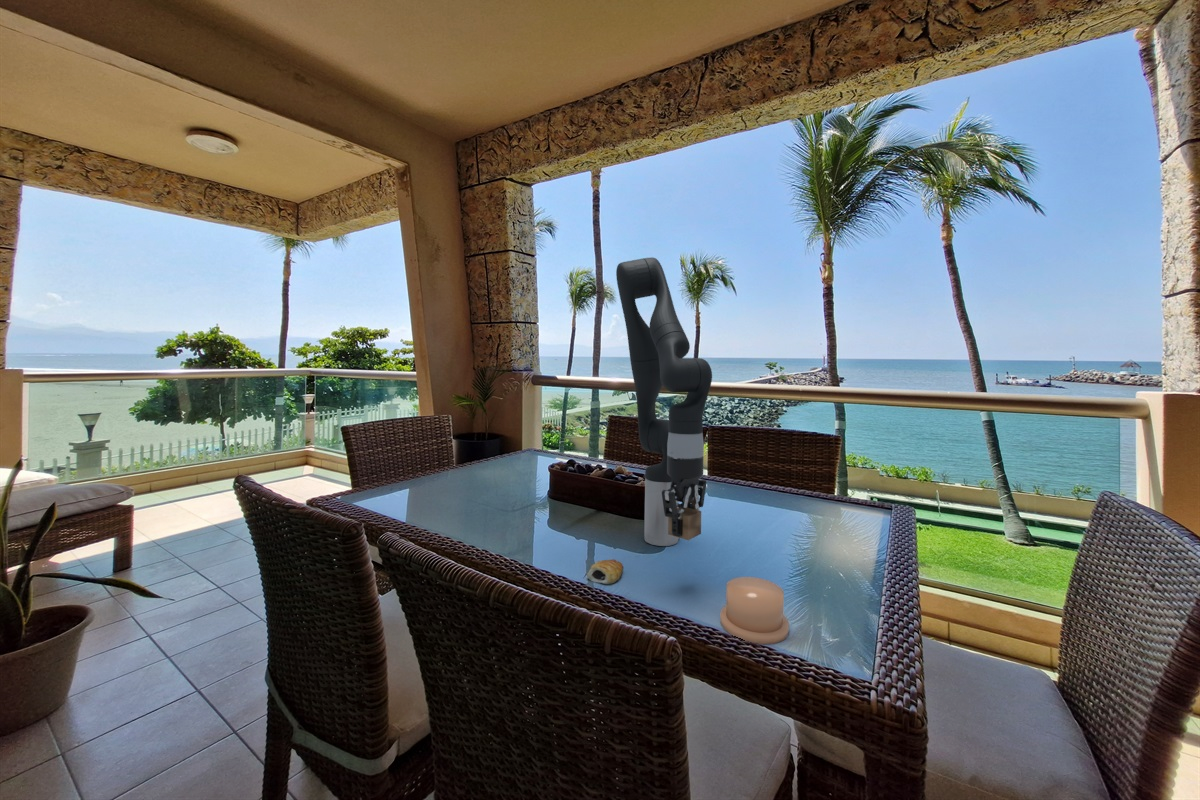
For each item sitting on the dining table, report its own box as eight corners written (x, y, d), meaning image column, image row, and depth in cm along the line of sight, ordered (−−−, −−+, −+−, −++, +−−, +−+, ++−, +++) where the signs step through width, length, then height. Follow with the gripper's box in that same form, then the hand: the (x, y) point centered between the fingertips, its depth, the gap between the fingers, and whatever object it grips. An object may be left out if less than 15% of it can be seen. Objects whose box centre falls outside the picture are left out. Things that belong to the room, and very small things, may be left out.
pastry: (605, 565, 113) (605, 550, 113) (630, 572, 110) (630, 556, 110) (584, 581, 105) (585, 564, 105) (611, 588, 102) (611, 571, 101)
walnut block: (681, 528, 104) (681, 506, 104) (701, 533, 101) (701, 510, 100) (668, 534, 100) (668, 511, 100) (688, 540, 97) (688, 516, 97)
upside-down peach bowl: (740, 602, 96) (741, 569, 95) (799, 625, 87) (800, 589, 87) (707, 625, 87) (708, 588, 87) (770, 653, 79) (771, 612, 78)
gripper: (688, 446, 107) (687, 519, 108) (650, 456, 96) (650, 536, 98) (718, 450, 102) (717, 527, 103) (681, 461, 91) (680, 546, 93)
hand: (684, 531), depth 101 cm, fingers closed on walnut block, 5 cm apart
